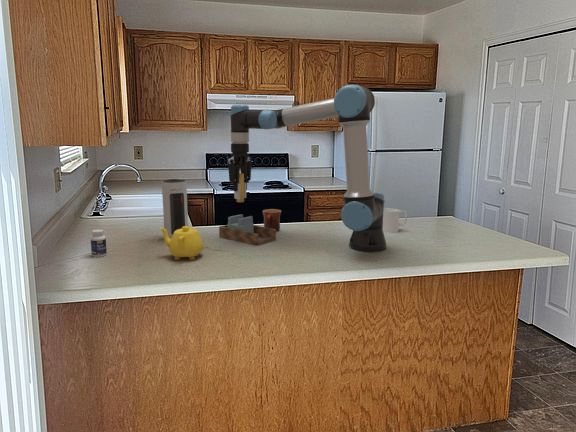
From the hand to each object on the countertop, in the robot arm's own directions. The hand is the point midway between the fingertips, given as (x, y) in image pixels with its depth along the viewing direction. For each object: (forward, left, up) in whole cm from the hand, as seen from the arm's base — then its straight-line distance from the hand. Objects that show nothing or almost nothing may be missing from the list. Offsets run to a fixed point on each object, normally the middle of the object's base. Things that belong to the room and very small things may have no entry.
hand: (240, 198), depth 208 cm
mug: (-2, -18, -19) cm, 26 cm away
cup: (-43, -60, -19) cm, 76 cm away
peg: (0, 0, -2) cm, 2 cm away
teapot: (0, +33, -19) cm, 38 cm away
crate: (0, 0, -17) cm, 17 cm away
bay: (-4, 0, -19) cm, 19 cm away
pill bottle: (+25, +52, -19) cm, 61 cm away
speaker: (+23, +17, -19) cm, 34 cm away
